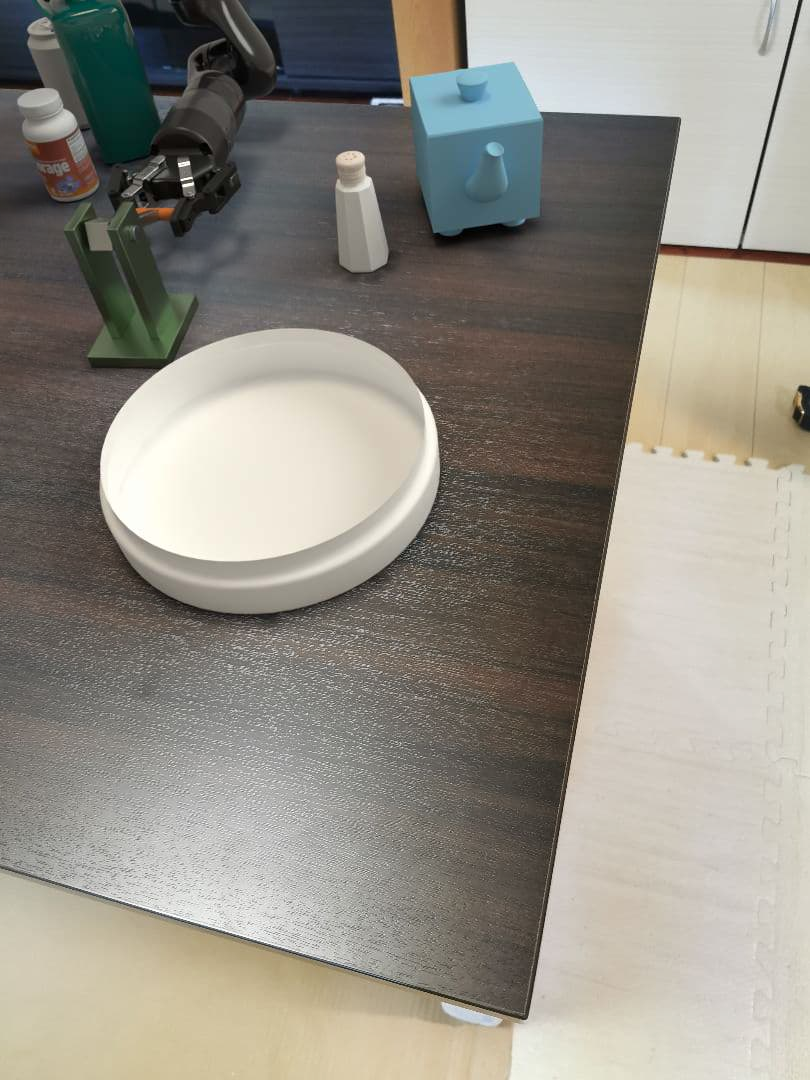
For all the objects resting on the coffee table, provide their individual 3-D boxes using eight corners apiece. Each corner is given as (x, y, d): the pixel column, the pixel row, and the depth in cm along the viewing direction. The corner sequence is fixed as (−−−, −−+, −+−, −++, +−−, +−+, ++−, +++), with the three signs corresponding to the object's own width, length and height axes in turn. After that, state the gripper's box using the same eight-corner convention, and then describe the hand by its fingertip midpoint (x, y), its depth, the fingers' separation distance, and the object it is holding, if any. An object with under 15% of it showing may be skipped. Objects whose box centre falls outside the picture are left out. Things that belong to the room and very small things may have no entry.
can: (96, 134, 112) (59, 36, 102) (49, 130, 114) (9, 33, 104) (125, 107, 116) (92, 11, 107) (79, 104, 118) (43, 9, 109)
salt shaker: (396, 266, 87) (385, 162, 78) (346, 279, 86) (329, 176, 77) (381, 239, 90) (369, 137, 81) (333, 251, 89) (315, 150, 81)
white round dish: (63, 603, 63) (32, 560, 59) (172, 367, 80) (153, 320, 75) (418, 628, 59) (411, 583, 55) (455, 373, 75) (453, 323, 71)
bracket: (125, 303, 87) (77, 186, 77) (199, 303, 86) (159, 184, 76) (91, 366, 81) (33, 248, 71) (169, 368, 80) (122, 248, 70)
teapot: (414, 173, 98) (403, 45, 87) (508, 158, 98) (509, 29, 87) (443, 281, 84) (435, 146, 73) (553, 265, 84) (560, 127, 74)
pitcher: (157, 124, 112) (95, -72, 95) (171, 151, 107) (108, -51, 90) (85, 144, 110) (8, -52, 93) (95, 172, 105) (17, -30, 88)
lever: (137, 226, 86) (133, 201, 84) (184, 225, 85) (180, 200, 84) (75, 251, 74) (69, 222, 73) (128, 251, 74) (122, 222, 73)
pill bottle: (40, 201, 102) (-2, 108, 93) (67, 175, 105) (29, 83, 97) (84, 205, 100) (45, 111, 92) (110, 179, 104) (74, 85, 95)
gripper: (122, 107, 91) (65, 195, 81) (250, 104, 88) (207, 193, 78) (145, 173, 97) (94, 262, 87) (265, 171, 94) (228, 262, 84)
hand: (148, 229), depth 83 cm, fingers closed on lever, 5 cm apart
